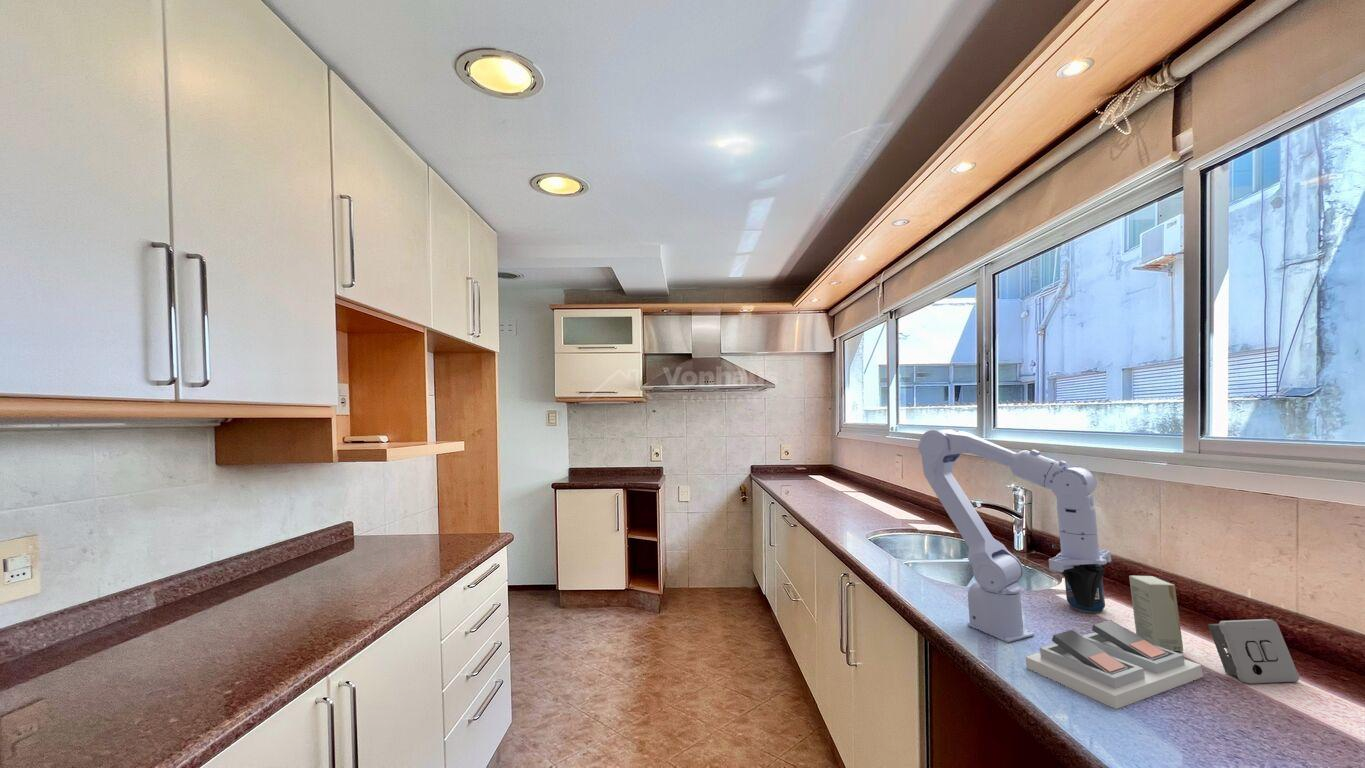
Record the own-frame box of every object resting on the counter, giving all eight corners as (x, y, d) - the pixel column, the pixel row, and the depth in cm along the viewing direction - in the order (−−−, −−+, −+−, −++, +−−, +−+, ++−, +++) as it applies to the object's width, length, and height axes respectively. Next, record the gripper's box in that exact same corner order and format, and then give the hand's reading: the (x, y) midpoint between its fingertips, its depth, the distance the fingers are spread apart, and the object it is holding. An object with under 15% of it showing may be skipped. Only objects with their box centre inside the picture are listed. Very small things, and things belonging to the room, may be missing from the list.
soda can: (1060, 602, 119) (1055, 551, 120) (1092, 602, 118) (1087, 551, 119) (1079, 614, 112) (1074, 559, 113) (1113, 614, 111) (1108, 559, 112)
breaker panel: (1026, 668, 90) (1024, 647, 90) (1108, 643, 98) (1106, 624, 98) (1116, 709, 77) (1113, 684, 77) (1202, 677, 85) (1200, 655, 85)
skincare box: (1184, 652, 93) (1177, 585, 94) (1157, 651, 94) (1150, 584, 95) (1159, 637, 99) (1153, 574, 100) (1134, 636, 100) (1128, 574, 101)
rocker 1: (1051, 640, 89) (1053, 634, 89) (1070, 635, 91) (1072, 629, 90) (1107, 680, 81) (1109, 673, 80) (1127, 674, 82) (1129, 667, 82)
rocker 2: (1092, 630, 93) (1093, 623, 92) (1109, 625, 94) (1111, 619, 94) (1149, 666, 84) (1151, 659, 84) (1167, 660, 86) (1169, 653, 86)
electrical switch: (1245, 685, 82) (1233, 625, 83) (1212, 672, 87) (1201, 616, 88) (1302, 683, 82) (1288, 623, 83) (1265, 670, 87) (1253, 614, 88)
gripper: (1075, 540, 88) (1082, 619, 87) (1126, 531, 93) (1134, 606, 92) (1035, 532, 95) (1041, 606, 94) (1085, 524, 100) (1092, 594, 99)
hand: (1084, 605), depth 93 cm, fingers closed
